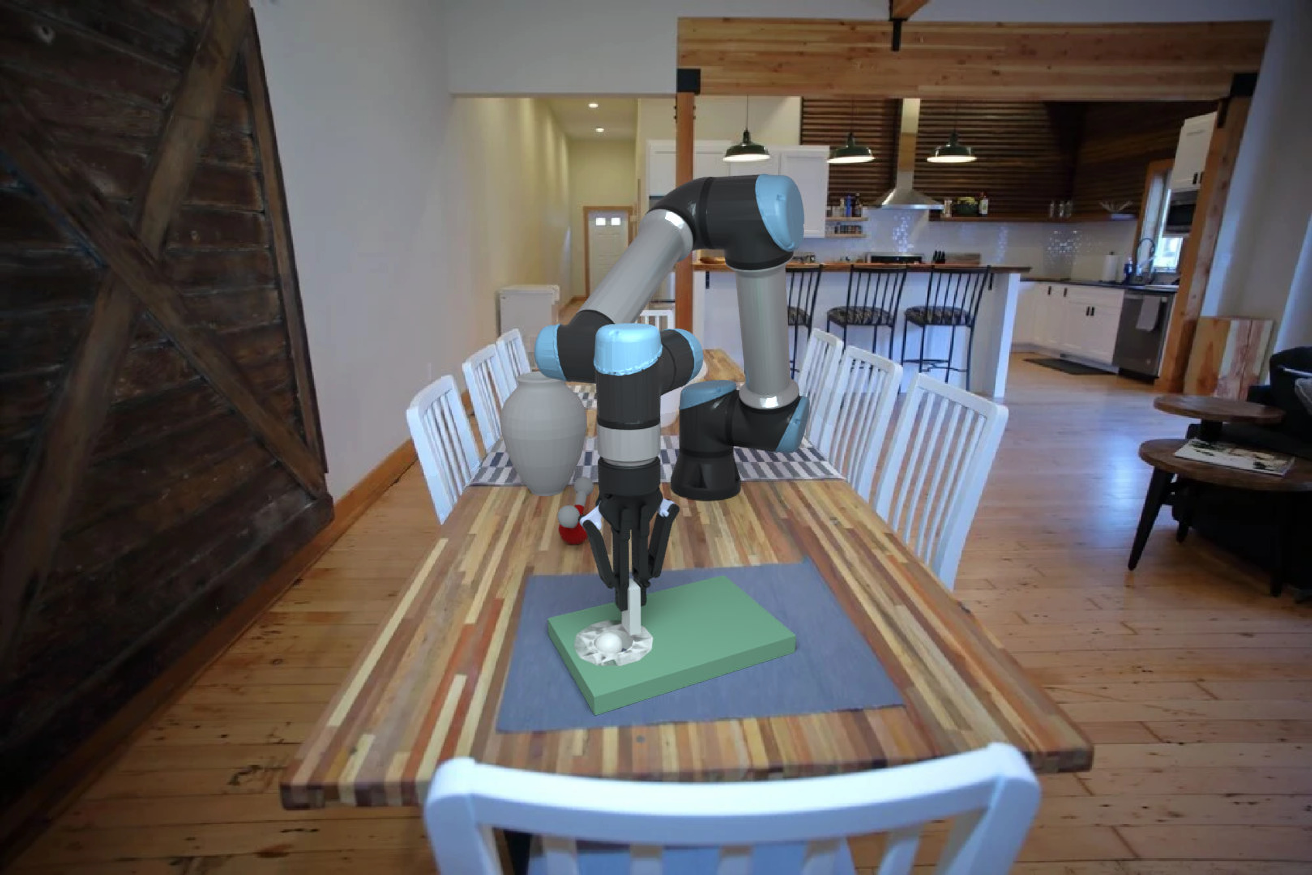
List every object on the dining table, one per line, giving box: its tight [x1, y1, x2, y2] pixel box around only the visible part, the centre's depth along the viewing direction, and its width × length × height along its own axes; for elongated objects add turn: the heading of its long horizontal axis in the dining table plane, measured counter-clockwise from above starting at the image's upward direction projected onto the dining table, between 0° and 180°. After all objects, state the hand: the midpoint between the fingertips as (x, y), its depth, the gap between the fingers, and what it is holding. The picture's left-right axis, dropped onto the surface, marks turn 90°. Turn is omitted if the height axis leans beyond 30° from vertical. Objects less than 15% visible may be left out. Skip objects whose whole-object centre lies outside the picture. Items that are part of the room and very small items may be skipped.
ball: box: [595, 632, 624, 654], centre depth 86 cm, size 4×4×4 cm
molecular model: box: [556, 476, 595, 546], centre depth 118 cm, size 18×6×10 cm, turn 175°
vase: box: [499, 371, 588, 497], centre depth 140 cm, size 18×18×25 cm
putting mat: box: [547, 574, 797, 716], centre depth 90 cm, size 28×18×2 cm, turn 116°
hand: (631, 628), depth 87 cm, fingers closed
